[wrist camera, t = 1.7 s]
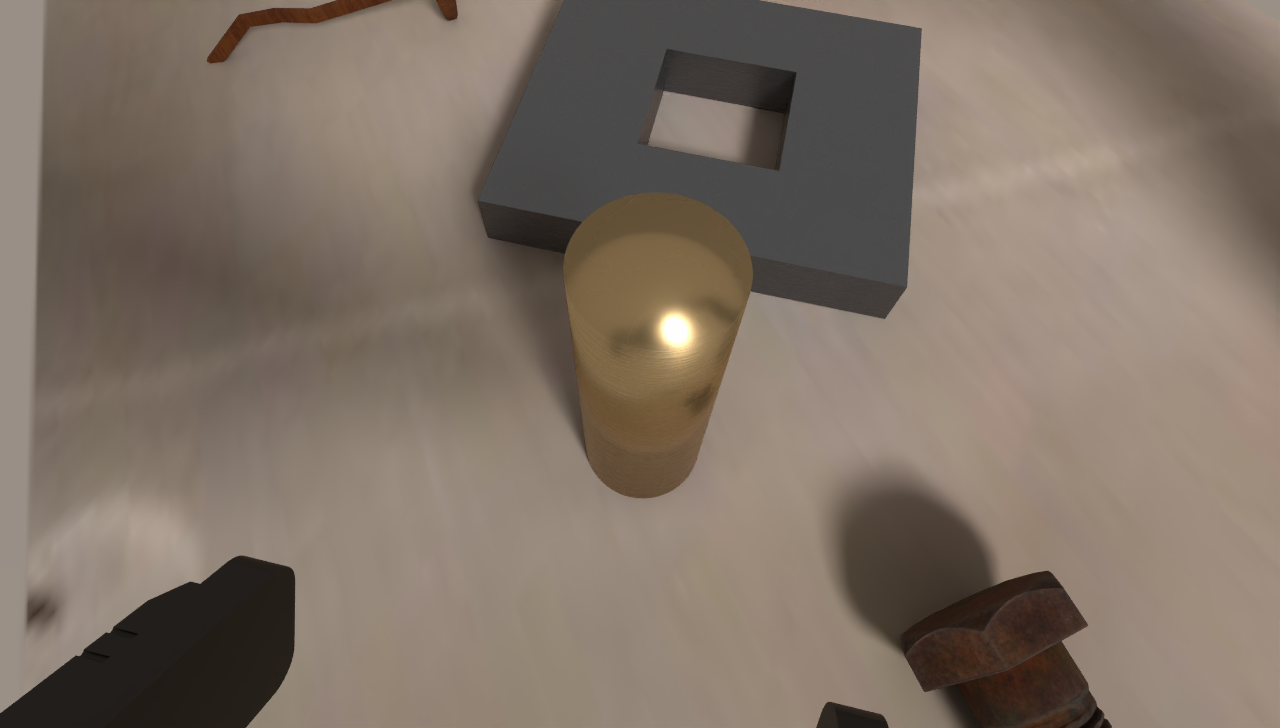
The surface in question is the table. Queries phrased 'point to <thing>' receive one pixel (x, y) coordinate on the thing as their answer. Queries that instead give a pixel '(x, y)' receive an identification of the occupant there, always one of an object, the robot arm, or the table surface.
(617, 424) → the tan mottled cylinder
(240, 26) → the glasses
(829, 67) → the plate
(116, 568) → the table surface
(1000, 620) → the bolt
